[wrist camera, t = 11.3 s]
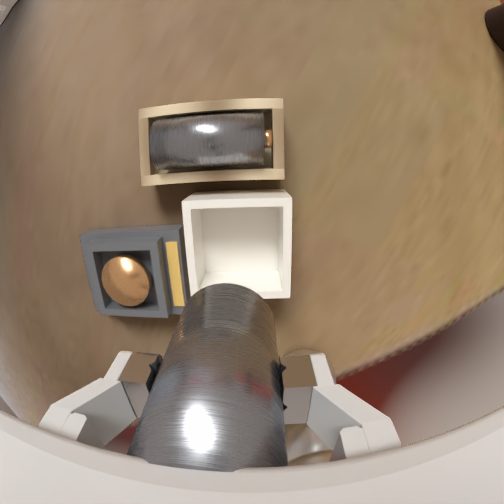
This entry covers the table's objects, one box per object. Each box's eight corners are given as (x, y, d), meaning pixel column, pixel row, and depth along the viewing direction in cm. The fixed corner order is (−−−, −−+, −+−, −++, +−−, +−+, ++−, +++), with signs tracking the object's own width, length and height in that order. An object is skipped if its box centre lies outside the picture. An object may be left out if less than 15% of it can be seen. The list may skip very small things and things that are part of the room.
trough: (153, 182, 24) (141, 186, 21) (151, 113, 22) (138, 109, 19) (280, 176, 24) (284, 179, 21) (279, 105, 22) (282, 98, 19)
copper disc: (111, 301, 25) (107, 305, 24) (101, 254, 23) (97, 257, 22) (155, 302, 25) (152, 307, 24) (147, 253, 23) (144, 256, 22)
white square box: (201, 274, 27) (191, 299, 22) (195, 191, 24) (181, 201, 20) (283, 272, 27) (290, 297, 22) (284, 189, 24) (292, 197, 20)
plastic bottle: (327, 380, 31) (367, 531, 12) (271, 386, 31) (281, 546, 13) (331, 337, 29) (391, 508, 10) (268, 344, 29) (281, 530, 10)
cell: (188, 358, 13) (144, 526, 5) (176, 283, 12) (83, 468, 4) (273, 359, 13) (286, 537, 5) (274, 281, 12) (302, 492, 3)
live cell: (166, 169, 23) (150, 172, 19) (164, 122, 22) (148, 117, 18) (270, 163, 23) (273, 165, 19) (269, 116, 22) (272, 108, 18)
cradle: (104, 301, 28) (89, 318, 25) (89, 229, 25) (71, 239, 22) (192, 304, 28) (185, 323, 25) (184, 224, 25) (174, 234, 22)
